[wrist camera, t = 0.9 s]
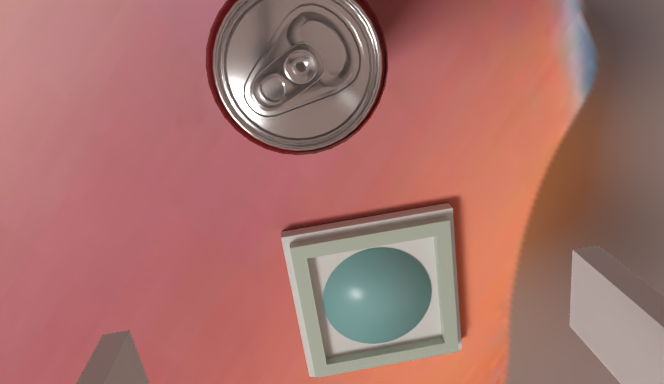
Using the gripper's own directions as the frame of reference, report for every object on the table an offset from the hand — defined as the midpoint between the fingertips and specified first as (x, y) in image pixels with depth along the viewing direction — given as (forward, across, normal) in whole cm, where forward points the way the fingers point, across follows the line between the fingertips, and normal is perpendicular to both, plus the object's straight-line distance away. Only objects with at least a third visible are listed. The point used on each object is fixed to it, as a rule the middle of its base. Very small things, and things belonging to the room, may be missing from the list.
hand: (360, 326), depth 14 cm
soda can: (+20, 0, +6) cm, 21 cm away
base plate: (+19, +2, -12) cm, 22 cm away
